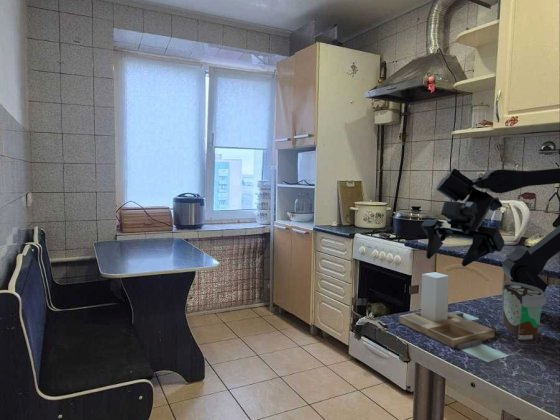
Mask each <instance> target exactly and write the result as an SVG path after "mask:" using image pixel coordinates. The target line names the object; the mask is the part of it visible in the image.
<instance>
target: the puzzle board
mask: <svg viewBox="0 0 560 420" xmlns="http://www.w3.org/2000/svg"><path fill="white" fill-rule="evenodd" d="M476 320H480V318H479V317H476V316H473V315H471V314H468V313H465V312H462V311H460V310H456V311H451V312H449V311H448V316H447V320H443V321H439V322H432V321H430V320H427V319H425V318H423V317H421V311H416V312H413V313H412V312H411V313H407V314H402V315H398V323H399V324H400V325H403V326H406V327H408V328H410V329H412V330H414V331H416V332H419V333H421V334H422V335H425V336H427V337H429V338H431V339H433V340H435V341H438V342H440V343H442V344H444V345H446V346H448V347H451V348H453V349H454V348H456V349H458V350H460V351H462V352H463V353H466V354H468V355H471V356H472V357H475V358H477V359H479V360H481V361H484V362H486V363H489V362H490V363H491V362H494V361H497V360H500V359H504V358H506V357H510V355H509V354H506V353H504V352H502V351H501V350H500V351H499V350H497V349H494V348H492V347H490V346H488V345H485V344H483V342H482V341H484V340H488V339H493V338H495V332H496V331H495V330H496V329H495V328H491V327H488V326H486V325H484V324H480V323H479V322H475V321H476Z"/></svg>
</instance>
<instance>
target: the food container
mask: <svg viewBox="0 0 560 420" xmlns="http://www.w3.org/2000/svg"><path fill="white" fill-rule="evenodd" d="M501 290H502V325H504V326H505V328H506V329H507V330H508V331H510V333H511V334H512V335H513V337H515V338H516V340H517V341H519V342H520V341H521V342H529V341H533V340H537V338H538V335H539V330H540V329H539V328H540V324H541V323H540V322H541V317H542V315H541V310H542V308H543V306H545V305H547V299H546V295H545V292H543V291H542V290H541V289H539V288H537V287H534V286H530V285H526V284H522V283H515V282H511V281H504V280H503V282H502V288H501Z"/></svg>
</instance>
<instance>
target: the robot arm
mask: <svg viewBox="0 0 560 420" xmlns="http://www.w3.org/2000/svg"><path fill="white" fill-rule="evenodd" d="M557 184H560V167H556V168H555V167H554V168H545V169H544V168H543V169H535V170H534V169H533V170H514V169H513V170H512V169H490V170H487V171H486V172H484V173H483V175H482V176H481V177H477V178H473V179H470V178H469V177H467V176H466V175H465V174H463V173H462V172H461V171H460V170H458V169H457V168H451V170H450V172H448V173H447V175H445V176H444V177H443V178H442V179H441V180H440V182H439V183H438V185H437V186H436V188H435V190H436V191H438V193H441V194H442V195H443V196H445V197H446V198H448V199H449V200H450V201H444V202H443V205H442V208H441V212H440V215H441V216H444V217H446V218H447V219H446V223H447V224H448V225H450V226H444V225H443V223H442V222H441V221H440V220H435V219H424V221H423V222H422V223H421V225H420V227H421V229H422V230H423V232H424V233H425V235H426V236H427V239H428V242H427V247H426V256H425V257H426V259H428V260H430V259H431V258H432V257H434V255H435V254H436V253H437V252H438V251H439V249H440V248H441V247H442V246H443V244H444V242H443V241H446V239H447V237H448V236H449V237H456V238H459V239H464V240H469V241H472V242H471V245H470V246H469V248H468V250H467V252H466V253H465V255H464V257H463V259H462V260H461V266H462V267H467V266H469V265H470V264H472V263H473V262H475V261H477V260H479V259H481V258H483V257H485V256H487V255H489V254H494V253H495V252H502V250H503V249H504V246H505V239H504V238H503V236H502V234H501V232H500V229H499V228H498V227H495V226H489V225H488V226H487V225H486V223H485V221H484V220H485V218H486V216H487V215H488V213H489V211H490V210H491V211H492V212H495V211H496V210H498V209H500V208H502V207H503V204H502V202H501V201H500V198H499V197H494V196H493V195H491V194H490V193H493V194H504V193H508V192H512V191H516V190H519V189H522V188H526V187H531V186H532V187H533V186H535V187H536V186H544V185H545V186H546V185H557ZM480 189H484V190H485V191H482V190H480ZM464 200H465V202H463V201H464ZM459 201H460V202H459ZM558 253H560V224H559V225H558V226H556V228H554V229H553V230H552V231H551V232H549V233H548V234H547V235H545V236H544V237H542V238H541V239H540V240H539V241H538V242H536V243H535V244H534V245H533V246H531V247H528V248H524V247H523V246H517V247H515V249H514V250H513V251H512V252H511V253H508V254H506V255H505V257H506V258H505V259H504V261H503V262H502V271H503V273H504V274H505V275H506V276H507V277H508V278H509V280H510V282H515V283H522V284H526V285H530V286H534V287H537V288H539V289H541V290H542V291H543V292H544V293H545V292H546V289H547V288H548V284H547V283H546V282H545V281H544V280H543V279H542V278H541V277H540V275H541V273H542V272H543V271H544V270H545V268H546V265H547V263H548V261H550V259H552V258H554V256H556V255H558ZM545 314H547V311H546V310H541V316H542V315H545Z"/></svg>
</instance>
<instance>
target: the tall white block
mask: <svg viewBox="0 0 560 420" xmlns="http://www.w3.org/2000/svg"><path fill="white" fill-rule="evenodd" d="M421 276H422V277H421V297H420V298H421V300H420V303H421V304H420V312H421V317H423V318H425V319H427V320H430V321H432V322H439V321H443V320H447V316H448V312H449V311H448V310H449V309H448V308H449V289H450V288H449V285H450V275H447V274H443V273H440V272H436V271H434V272H427V273H422V274H421Z"/></svg>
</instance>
